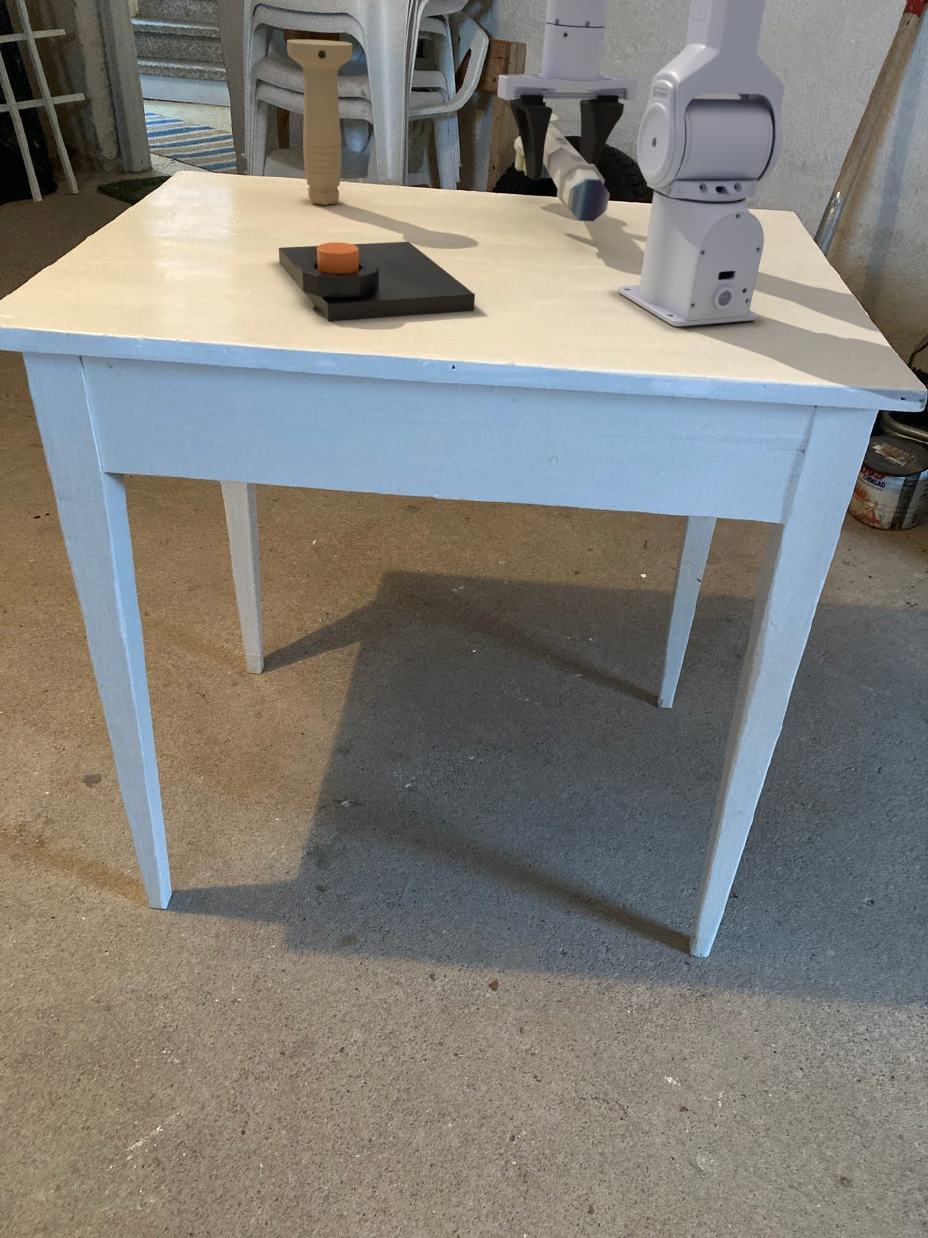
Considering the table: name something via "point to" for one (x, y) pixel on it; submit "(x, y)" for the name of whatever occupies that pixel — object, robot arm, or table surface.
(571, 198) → the blue-tipped octagonal rod
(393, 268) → the scale
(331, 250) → the button
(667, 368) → the table surface
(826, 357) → the table surface
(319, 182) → the handle
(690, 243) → the robot arm
